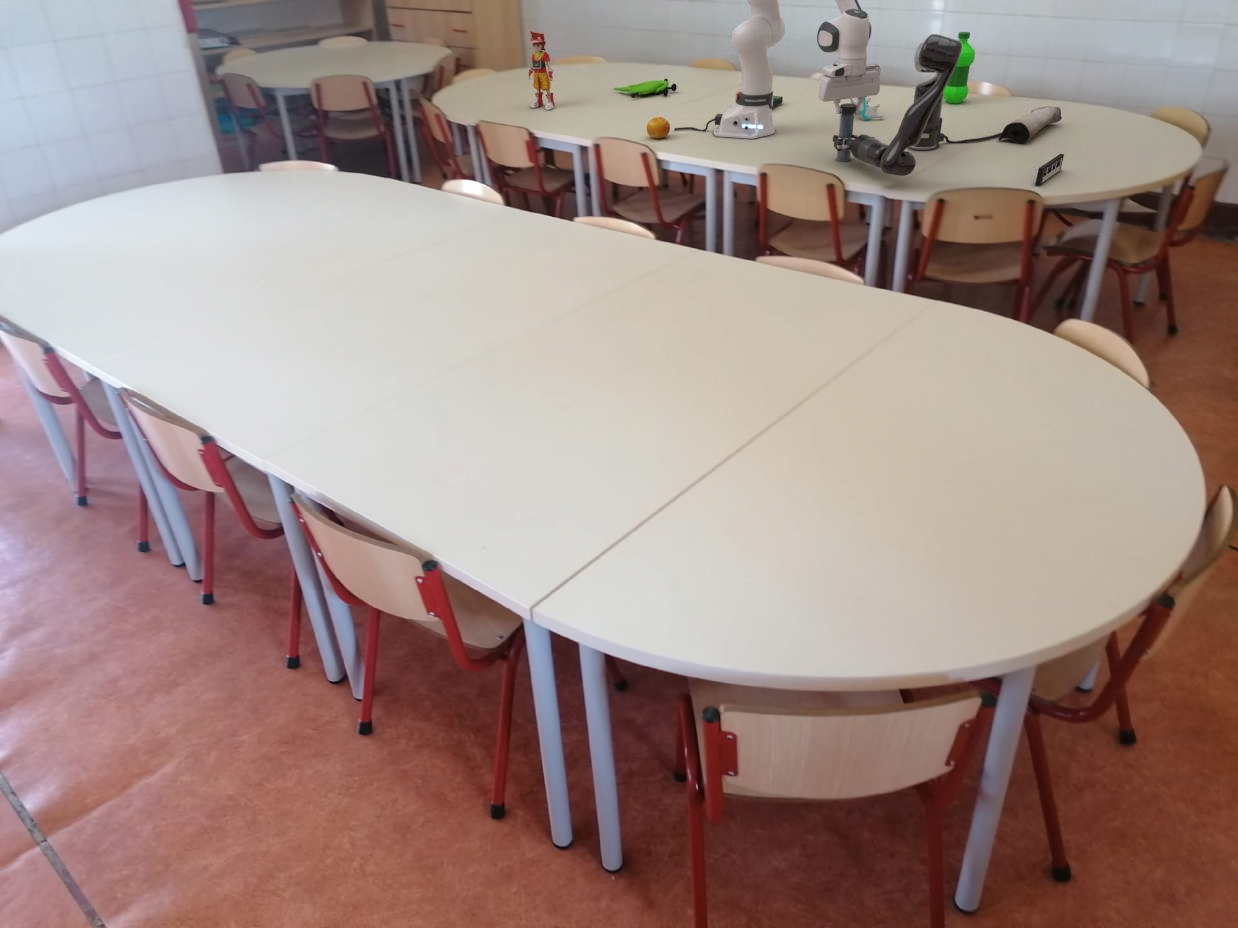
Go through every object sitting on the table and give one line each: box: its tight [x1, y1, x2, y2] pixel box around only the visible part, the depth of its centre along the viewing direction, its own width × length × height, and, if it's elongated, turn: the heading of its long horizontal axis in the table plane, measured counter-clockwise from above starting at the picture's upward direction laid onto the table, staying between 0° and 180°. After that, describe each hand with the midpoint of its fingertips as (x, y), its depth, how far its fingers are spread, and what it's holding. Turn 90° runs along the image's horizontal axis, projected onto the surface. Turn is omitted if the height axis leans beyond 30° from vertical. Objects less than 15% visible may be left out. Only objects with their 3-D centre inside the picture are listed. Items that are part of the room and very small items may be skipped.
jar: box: [836, 113, 855, 163], centre depth 296 cm, size 4×4×17 cm
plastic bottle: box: [943, 31, 976, 104], centre depth 348 cm, size 10×10×25 cm
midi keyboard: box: [1035, 153, 1065, 186], centre depth 273 cm, size 18×1×5 cm, turn 138°
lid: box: [839, 102, 857, 115], centre depth 291 cm, size 5×5×2 cm
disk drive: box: [772, 95, 784, 109], centre depth 364 cm, size 10×3×15 cm
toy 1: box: [527, 31, 556, 111], centre depth 374 cm, size 12×9×30 cm
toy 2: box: [612, 78, 677, 99], centre depth 396 cm, size 28×5×30 cm
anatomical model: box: [849, 96, 885, 121], centre depth 342 cm, size 15×10×10 cm
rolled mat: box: [998, 105, 1063, 144], centre depth 313 cm, size 30×9×10 cm
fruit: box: [646, 116, 671, 139], centre depth 333 cm, size 8×8×8 cm
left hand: (847, 112), depth 292 cm, fingers closed on lid, 5 cm apart
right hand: (840, 137), depth 299 cm, fingers closed on jar, 4 cm apart
